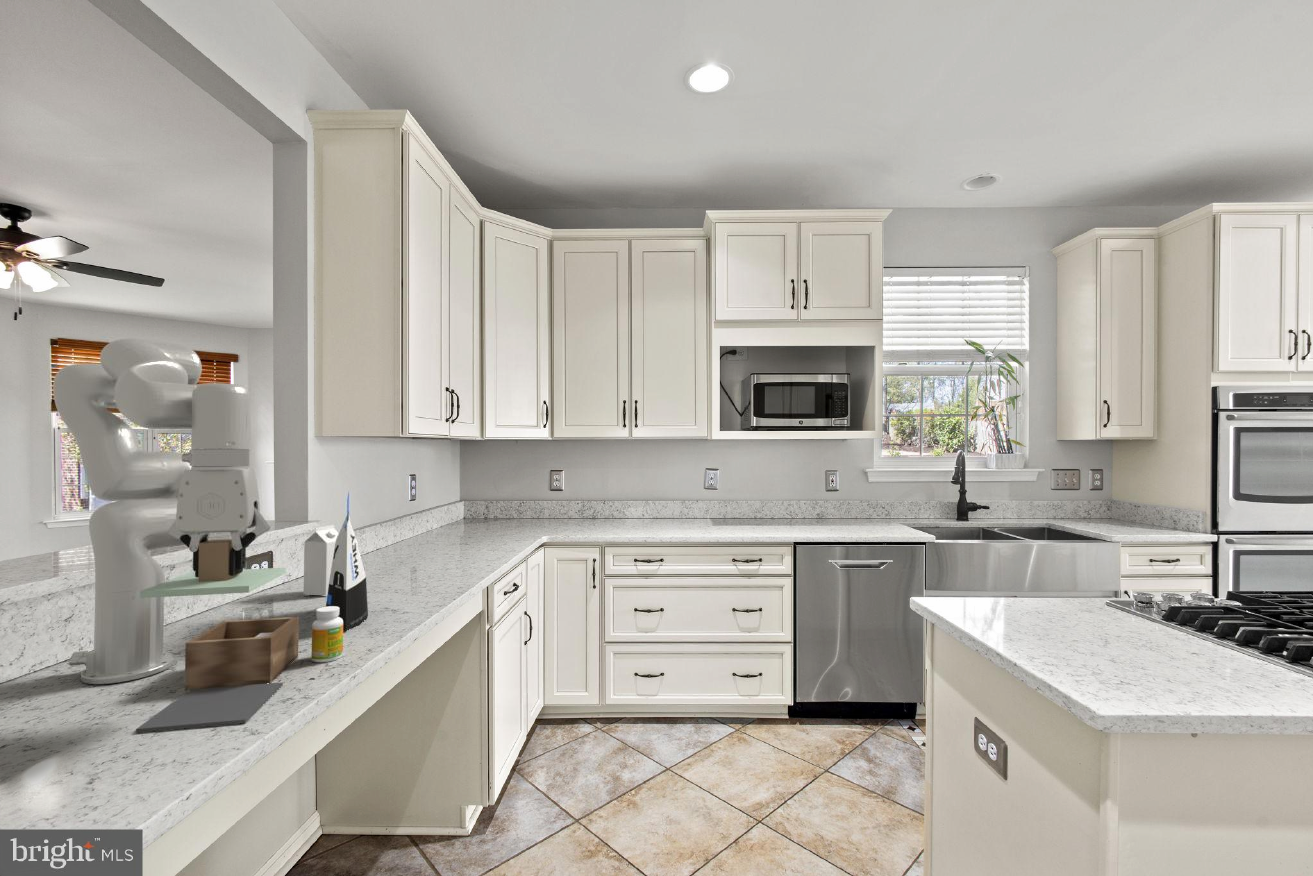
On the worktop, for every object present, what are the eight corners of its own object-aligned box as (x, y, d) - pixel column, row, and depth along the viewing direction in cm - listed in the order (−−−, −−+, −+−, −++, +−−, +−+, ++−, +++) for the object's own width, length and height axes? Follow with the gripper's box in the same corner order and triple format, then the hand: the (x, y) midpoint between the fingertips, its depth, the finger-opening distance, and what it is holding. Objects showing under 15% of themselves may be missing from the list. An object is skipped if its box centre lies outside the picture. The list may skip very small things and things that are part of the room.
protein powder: (367, 603, 154) (368, 490, 154) (369, 629, 132) (370, 498, 133) (326, 608, 149) (327, 491, 150) (321, 635, 128) (323, 499, 128)
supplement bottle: (328, 664, 111) (329, 613, 111) (304, 661, 112) (305, 611, 112) (348, 654, 116) (349, 605, 117) (325, 652, 117) (326, 604, 118)
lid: (140, 598, 84) (140, 550, 84) (193, 577, 98) (193, 536, 98) (248, 592, 87) (249, 546, 88) (285, 573, 101) (286, 533, 101)
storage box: (184, 690, 99) (185, 643, 99) (222, 662, 112) (223, 620, 112) (270, 683, 102) (270, 638, 102) (298, 657, 114) (298, 616, 115)
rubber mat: (136, 733, 84) (136, 729, 84) (189, 693, 98) (189, 689, 98) (245, 723, 87) (245, 719, 87) (282, 685, 101) (282, 682, 101)
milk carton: (303, 595, 161) (304, 527, 161) (321, 589, 168) (322, 524, 168) (325, 597, 160) (327, 528, 160) (343, 590, 167) (344, 525, 167)
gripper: (145, 461, 88) (143, 583, 87) (269, 460, 91) (268, 577, 91) (174, 460, 95) (172, 572, 94) (288, 459, 99) (287, 567, 98)
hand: (219, 573), depth 93 cm, fingers closed on lid, 4 cm apart
